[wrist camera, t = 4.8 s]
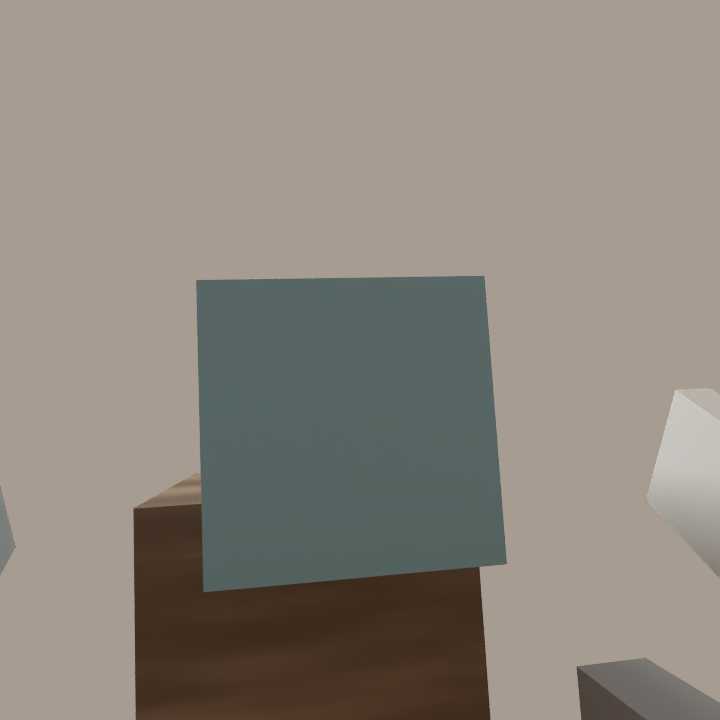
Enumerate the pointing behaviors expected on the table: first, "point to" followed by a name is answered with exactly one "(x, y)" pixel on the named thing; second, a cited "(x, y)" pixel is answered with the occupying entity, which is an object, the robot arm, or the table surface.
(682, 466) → the robot arm
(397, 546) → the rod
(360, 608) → the walnut wood block
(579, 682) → the pedestal
